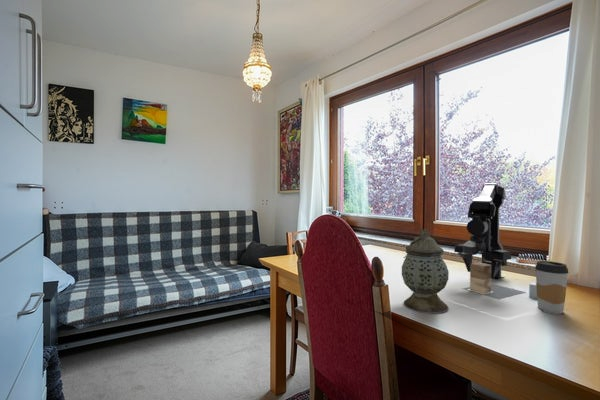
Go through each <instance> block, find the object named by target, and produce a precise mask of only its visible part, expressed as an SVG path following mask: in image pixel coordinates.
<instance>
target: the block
mask: <svg viewBox="0 0 600 400" xmlns="http://www.w3.org/2000/svg"><path fill="white" fill-rule="evenodd" d="M528 285H529V291H528V292H529V293H528V294H529V295H528V297H529V298H534V299H537V289H536V281H532V282H530V283H529V284H528Z"/></svg>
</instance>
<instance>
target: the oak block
mask: <svg viewBox="0 0 600 400" xmlns="http://www.w3.org/2000/svg"><path fill="white" fill-rule="evenodd" d="M491 284H492V278H490V279H485V280H482V279H477V278H473V277H470V276H469V287H470V290H472V291H476V292H480V293H487V292H491Z"/></svg>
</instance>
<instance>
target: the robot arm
mask: <svg viewBox="0 0 600 400" xmlns="http://www.w3.org/2000/svg"><path fill="white" fill-rule="evenodd" d="M505 200H506V190H505V188H504V187H502V186H501V185H498V183H495V182H494V183H493V182H492V183H491V182H489V183H486V182H485V183H483V186H482V187H481V192H480V194H479V196H478V197H475V198H473V200H472V201H471V202H470V203H469V207H468V213H467V218H468V219H471V220H470V221H469V222H468V223H467V224H466V230H467V232H468V233H469V234H470V237H469V238H470V239H469V240H468V241H466V242H464V243H463V244H462V243H461V244H456V245H455V246H454V249H453V250H454V251H453V252H454V253H456V254H457V255H459V256H460V257H461V259H462V260H463V261H464V262H463V263H464V264H465V267H466V270H467V272H469V273H470V264H472V263H473V256H475V255H481V263H483V264H489V265H491V280H492V279H493V280H502V279H505V278H506V277H505V276H502V267H505V266H506V267H507V266H508V262H507V261H508V260H512V254H511V252H510V251H509V250H505V249H504V246H503V245H502V244H501V242H500V208H501V207H502V206H503V204H504V202H505Z"/></svg>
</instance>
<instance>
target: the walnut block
mask: <svg viewBox="0 0 600 400" xmlns="http://www.w3.org/2000/svg"><path fill="white" fill-rule="evenodd" d="M470 277H473V278H477V279H482V280H485V279H490V278H491V265H489V264H485V263H482V262H472V264H470V272H469V278H470ZM491 279H492V278H491Z"/></svg>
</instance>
